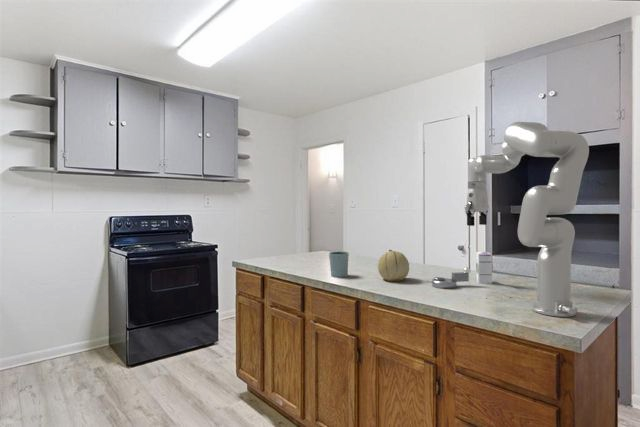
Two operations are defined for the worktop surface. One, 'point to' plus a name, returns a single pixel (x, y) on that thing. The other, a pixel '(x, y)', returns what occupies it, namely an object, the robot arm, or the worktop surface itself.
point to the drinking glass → (339, 264)
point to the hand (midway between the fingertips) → (476, 225)
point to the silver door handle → (451, 280)
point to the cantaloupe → (393, 266)
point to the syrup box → (484, 267)
